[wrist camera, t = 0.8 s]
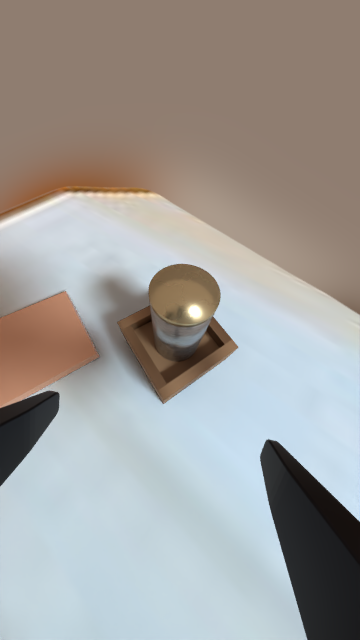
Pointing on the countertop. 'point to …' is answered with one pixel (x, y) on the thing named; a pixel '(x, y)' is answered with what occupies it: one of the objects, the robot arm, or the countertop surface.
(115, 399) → the countertop surface
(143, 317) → the socket block
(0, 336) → the terracotta tile
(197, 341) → the silver and gold cylinder
